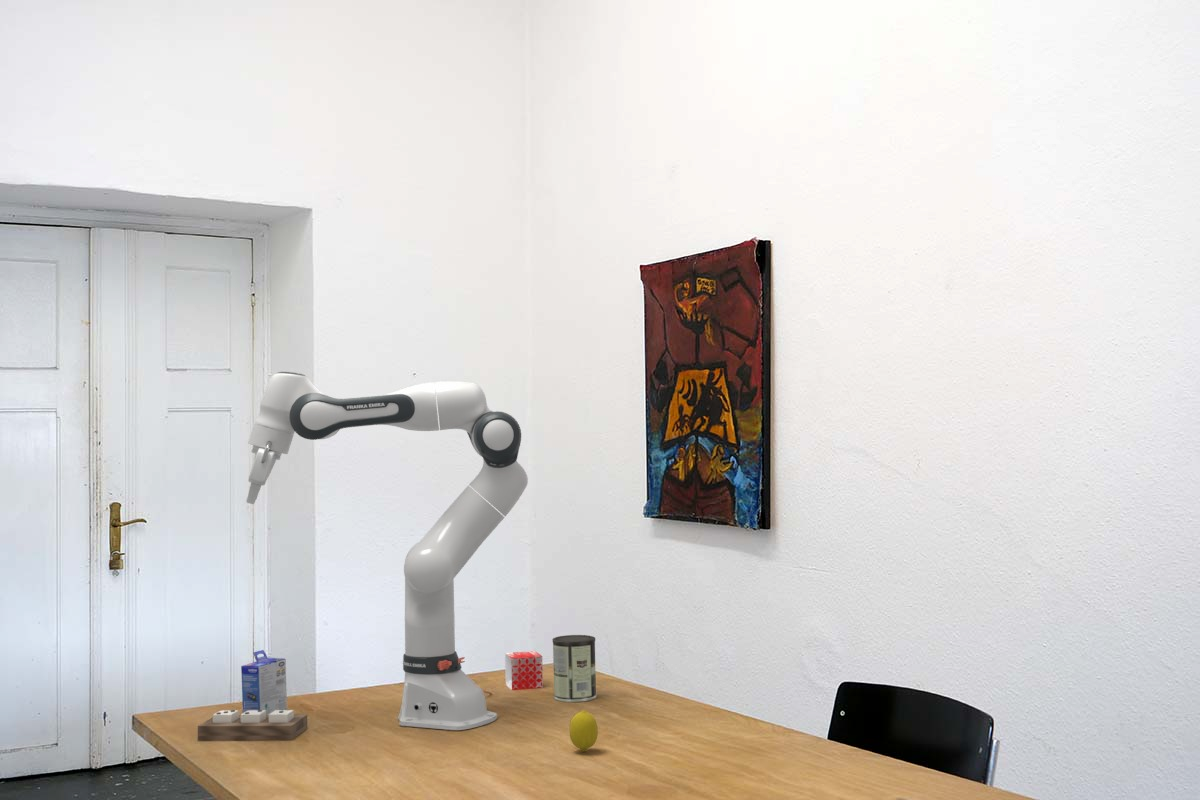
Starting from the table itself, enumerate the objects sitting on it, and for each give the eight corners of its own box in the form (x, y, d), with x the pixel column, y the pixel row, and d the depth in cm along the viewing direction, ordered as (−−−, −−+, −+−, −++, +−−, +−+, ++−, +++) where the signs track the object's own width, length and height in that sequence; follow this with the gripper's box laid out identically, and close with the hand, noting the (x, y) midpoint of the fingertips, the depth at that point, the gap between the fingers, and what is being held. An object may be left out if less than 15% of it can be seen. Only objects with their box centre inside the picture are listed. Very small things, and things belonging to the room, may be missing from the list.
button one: (293, 721, 238) (293, 709, 238) (287, 726, 234) (287, 713, 234) (275, 721, 239) (275, 709, 239) (268, 726, 235) (268, 713, 235)
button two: (266, 721, 239) (266, 709, 239) (259, 726, 235) (259, 713, 235) (247, 721, 239) (247, 709, 239) (240, 726, 235) (240, 713, 235)
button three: (238, 721, 239) (238, 709, 239) (231, 726, 235) (231, 713, 235) (220, 721, 239) (220, 709, 239) (212, 726, 235) (212, 713, 235)
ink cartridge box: (268, 710, 260) (268, 647, 260) (288, 711, 258) (287, 648, 258) (240, 719, 250) (240, 654, 251) (260, 721, 248) (260, 655, 249)
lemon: (601, 749, 220) (601, 707, 220) (592, 756, 215) (591, 714, 215) (575, 747, 222) (574, 706, 222) (565, 754, 216) (564, 712, 217)
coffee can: (573, 691, 274) (572, 633, 274) (605, 696, 267) (604, 637, 268) (544, 698, 266) (543, 639, 267) (576, 704, 259) (575, 643, 260)
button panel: (307, 728, 241) (307, 714, 241) (292, 740, 231) (292, 725, 231) (216, 728, 242) (216, 714, 242) (197, 740, 232) (197, 726, 232)
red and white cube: (542, 688, 278) (542, 656, 279) (511, 690, 276) (511, 658, 277) (535, 682, 286) (535, 650, 286) (505, 684, 284) (505, 652, 284)
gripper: (283, 446, 238) (263, 509, 237) (284, 444, 258) (266, 502, 257) (254, 438, 237) (234, 501, 235) (257, 436, 256) (238, 494, 255)
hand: (250, 501), depth 246 cm, fingers open, 8 cm apart
